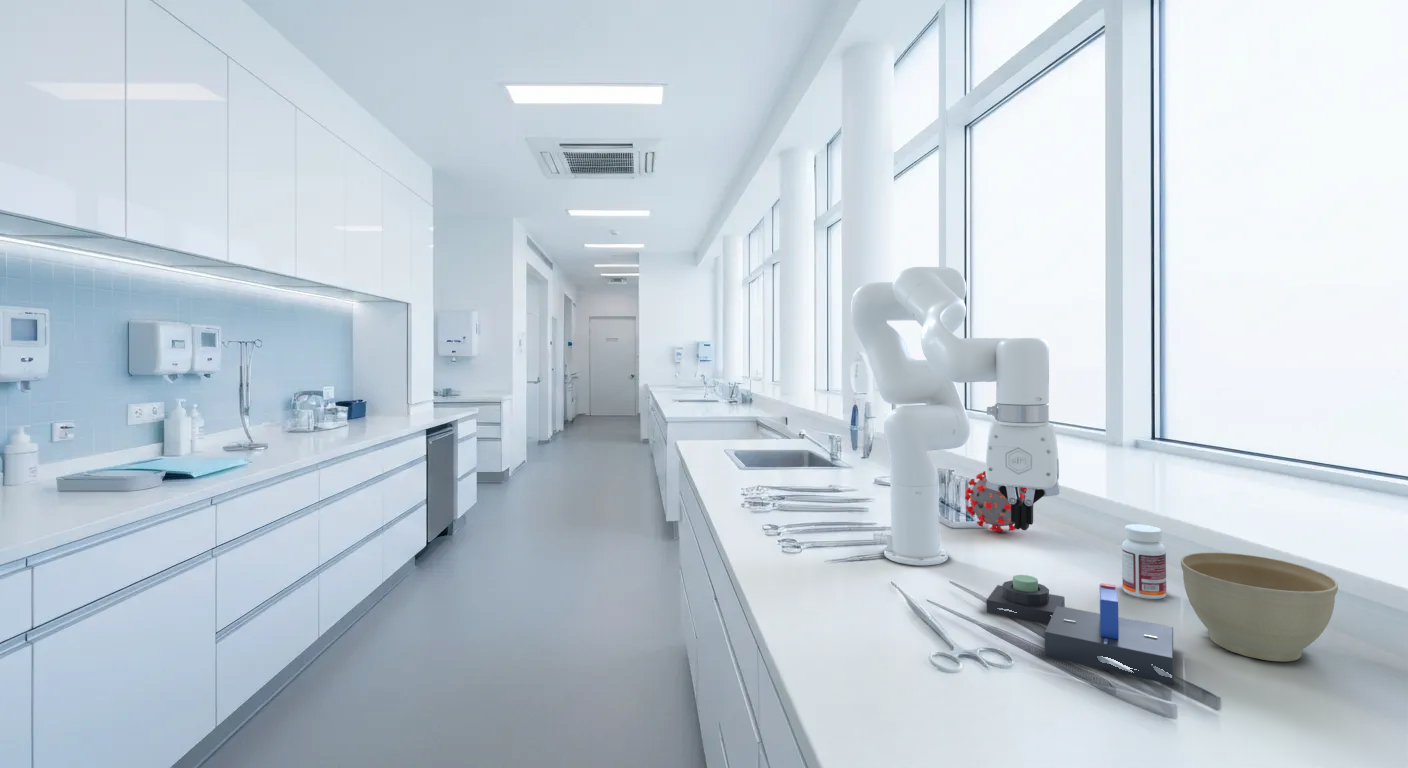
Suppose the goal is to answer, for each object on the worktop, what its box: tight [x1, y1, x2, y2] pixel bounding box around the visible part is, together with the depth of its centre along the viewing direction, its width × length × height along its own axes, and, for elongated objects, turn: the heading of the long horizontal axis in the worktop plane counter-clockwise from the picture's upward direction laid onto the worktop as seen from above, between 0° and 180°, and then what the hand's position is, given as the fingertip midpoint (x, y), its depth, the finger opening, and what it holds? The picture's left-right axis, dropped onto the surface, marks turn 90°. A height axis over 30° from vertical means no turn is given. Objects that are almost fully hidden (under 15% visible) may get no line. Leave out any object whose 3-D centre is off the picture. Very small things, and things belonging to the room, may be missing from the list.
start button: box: [1012, 574, 1039, 592], centre depth 100 cm, size 4×4×2 cm
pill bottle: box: [1121, 523, 1167, 600], centre depth 106 cm, size 6×6×11 cm
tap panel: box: [1044, 606, 1174, 686], centre depth 85 cm, size 14×11×4 cm
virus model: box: [964, 470, 1027, 533], centre depth 147 cm, size 14×15×15 cm
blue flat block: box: [1098, 582, 1119, 639], centre depth 85 cm, size 6×2×5 cm, turn 148°
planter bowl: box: [1180, 551, 1339, 662], centre depth 86 cm, size 16×16×11 cm
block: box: [985, 579, 1066, 626], centre depth 100 cm, size 10×8×4 cm
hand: (1022, 527), depth 101 cm, fingers closed
